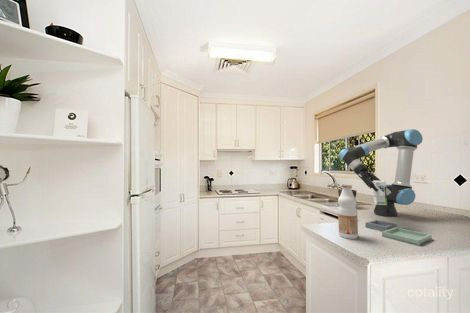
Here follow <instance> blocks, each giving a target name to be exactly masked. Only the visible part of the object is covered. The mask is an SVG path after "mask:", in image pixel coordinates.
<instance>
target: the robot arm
mask: <svg viewBox="0 0 470 313" xmlns="http://www.w3.org/2000/svg"><path fill="white" fill-rule="evenodd" d="M423 140H424V139H423V135H422V133H421V132H420V131H419V130H418V129H414V128H413V129H412V128H411V129H409V128H408V129H404V130H399V131H394V132H390V133H389V134H386V135H383V136H381V137H379V138H377V139H374V140H371V141H368V142H364V143H361V144H358V145H354V146H351V147H347V148H343V149H342V150H340V152H339V154H338V157H339V158H340V160H341V161H343V162H344V164H346V165H347V166H348V167H349V169H350V170H352V172H354V174H355V175H357V177H358V178H360V179H361V180H362V181H363V183H364V184H365V185H366V186H367V187H368V188H369V189H372V190H374V191H376V192H377V193H378V194H379V195H380V196H382V195H383V194H385V193H384V192H382V191H381V190H380V189H379V188H378V187H377V186H376V185H375V186H374V183H373V181H382V180H381V179H380V178H378V177H377V176H376V175H375V174H374V173H373V172H372V171H371V172H369V171H368V167H367V166H366V165H365V164H363V162H362V161H361V160H360V159H361V158H364V157H366V156H368V155H370V153H371V152H374V151H378V150H380V149H388V148H396V149H398V153H397V162H396V169H395V175H394V176H395V177H394V182H393V183H391V184H386V193H387V205H376V204H375V207H374V209H373V214H374V215H376V216H381V217H388V218H389V217H393V218H394V217H395V218H396V217H398V214H399V213H398V211H397V208H396V204H398V205H402V206H403V205H405V206H408V205H411V204H413V202H414V201H415V199H416V193H415V190H413V186H412V185H411V184H410V183H411V176H412V168H413V160H414V152H415V151H416V150H417V149H418V146H420V145H421V144H422V143H423Z"/></svg>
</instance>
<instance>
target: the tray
mask: <svg viewBox="0 0 470 313" xmlns="http://www.w3.org/2000/svg"><path fill="white" fill-rule="evenodd" d="M381 237H383V238H388V239H390V240H394V241H397V242H402V243H406V244H409V245H414V246H421V245H424V244H425V243H427V242H430V241H432V240H433V239H432V238H433V237H432V234H430V233H425V232H420V231H415V230H410V229H406V228H402V227H398V226H397V227H395V228H392V229H389V230H386V231H381Z"/></svg>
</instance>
